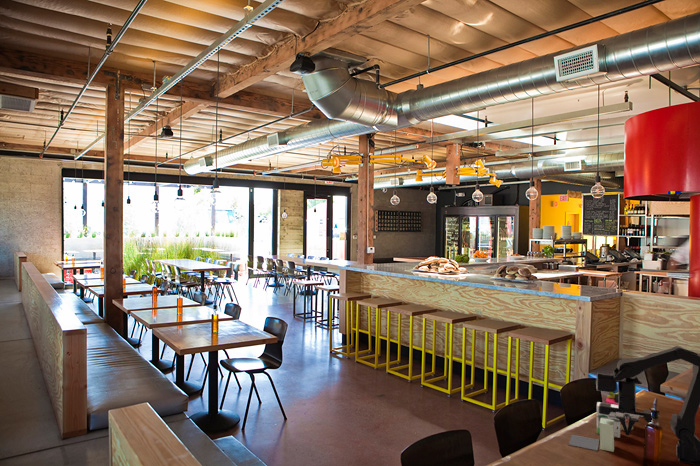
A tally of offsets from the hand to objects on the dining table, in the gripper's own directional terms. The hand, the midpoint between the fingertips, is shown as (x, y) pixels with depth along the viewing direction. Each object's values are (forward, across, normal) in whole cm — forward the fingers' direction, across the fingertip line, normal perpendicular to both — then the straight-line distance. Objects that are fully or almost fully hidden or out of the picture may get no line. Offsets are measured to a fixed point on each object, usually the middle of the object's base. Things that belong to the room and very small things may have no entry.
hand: (627, 435), depth 174 cm
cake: (+6, +3, -27) cm, 28 cm away
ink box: (+6, +7, -15) cm, 18 cm away
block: (+6, +7, 0) cm, 9 cm away
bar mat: (+6, +15, 0) cm, 16 cm away
